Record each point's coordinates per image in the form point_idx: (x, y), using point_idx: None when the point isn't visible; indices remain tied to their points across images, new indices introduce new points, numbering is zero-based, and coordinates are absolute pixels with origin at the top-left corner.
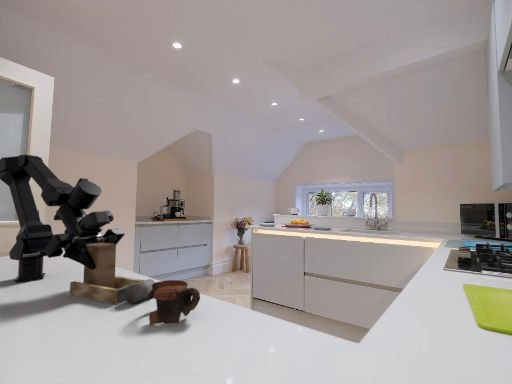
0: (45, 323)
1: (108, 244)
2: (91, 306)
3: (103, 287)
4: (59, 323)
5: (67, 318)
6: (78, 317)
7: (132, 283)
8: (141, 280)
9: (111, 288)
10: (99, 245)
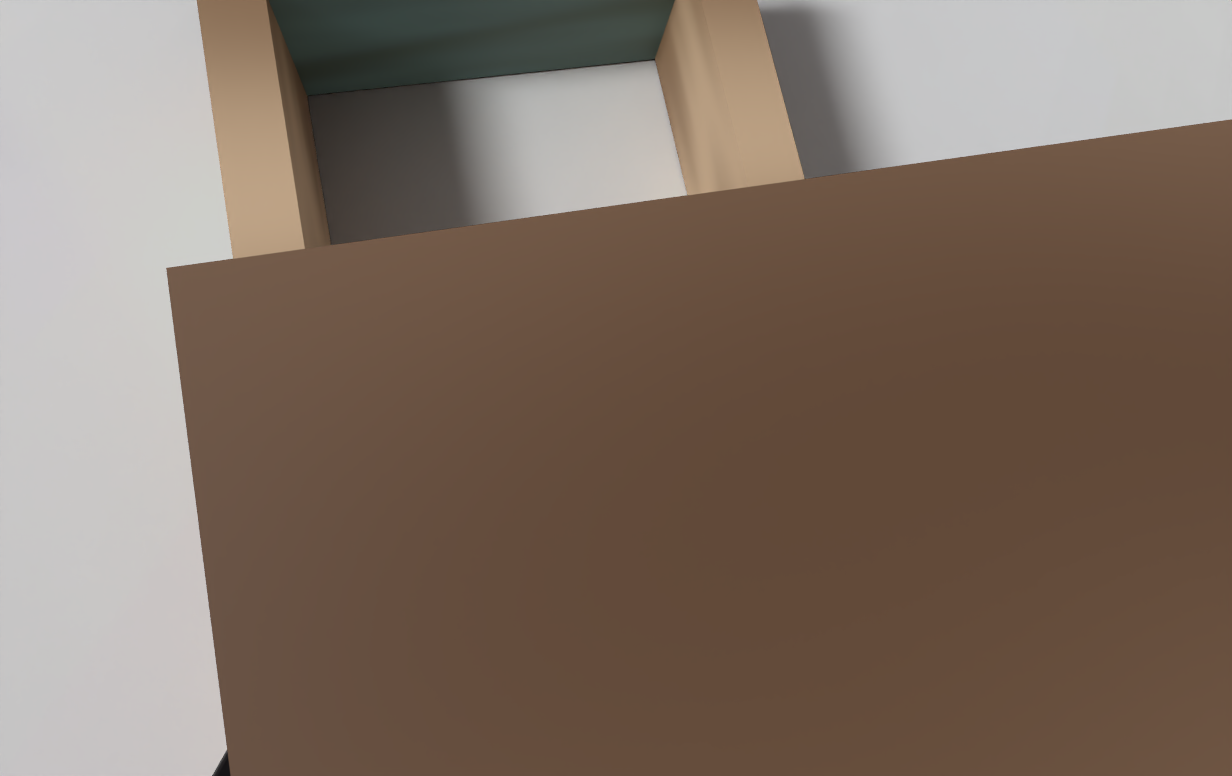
0: (1228, 116)
1: (661, 454)
2: (869, 169)
3: (775, 159)
4: (1158, 31)
5: (1095, 73)
6: (1032, 20)
7: (303, 188)
8: (234, 13)
9: (727, 40)
10: (1222, 478)
